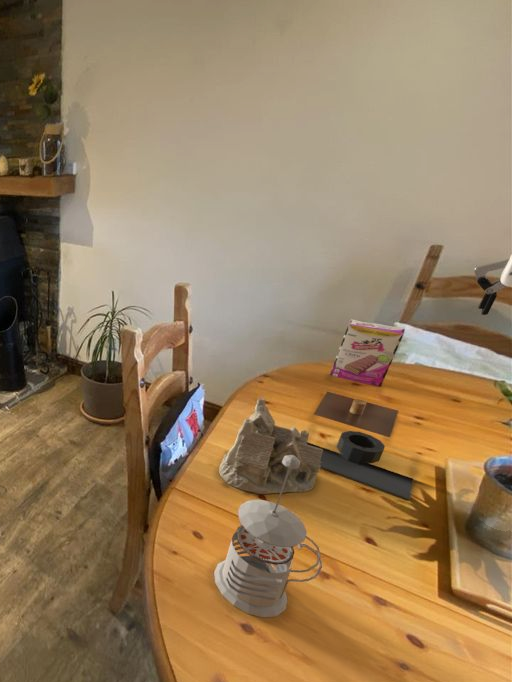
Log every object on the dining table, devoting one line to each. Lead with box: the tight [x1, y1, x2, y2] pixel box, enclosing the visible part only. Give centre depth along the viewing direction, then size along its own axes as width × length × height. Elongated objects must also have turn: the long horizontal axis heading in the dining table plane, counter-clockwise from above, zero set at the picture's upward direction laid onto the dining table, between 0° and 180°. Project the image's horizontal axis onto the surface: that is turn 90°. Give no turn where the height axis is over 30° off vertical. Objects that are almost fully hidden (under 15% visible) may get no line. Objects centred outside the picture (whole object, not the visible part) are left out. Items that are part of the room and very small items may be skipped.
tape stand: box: [313, 391, 399, 438], centre depth 99 cm, size 14×14×4 cm
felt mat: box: [307, 441, 414, 501], centre depth 87 cm, size 18×18×1 cm
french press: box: [213, 455, 323, 619], centre depth 57 cm, size 10×12×25 cm
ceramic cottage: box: [218, 397, 323, 495], centre depth 81 cm, size 16×16×15 cm
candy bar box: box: [329, 318, 406, 388], centre depth 110 cm, size 11×5×16 cm, turn 47°
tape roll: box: [335, 430, 386, 466], centre depth 86 cm, size 7×7×4 cm
